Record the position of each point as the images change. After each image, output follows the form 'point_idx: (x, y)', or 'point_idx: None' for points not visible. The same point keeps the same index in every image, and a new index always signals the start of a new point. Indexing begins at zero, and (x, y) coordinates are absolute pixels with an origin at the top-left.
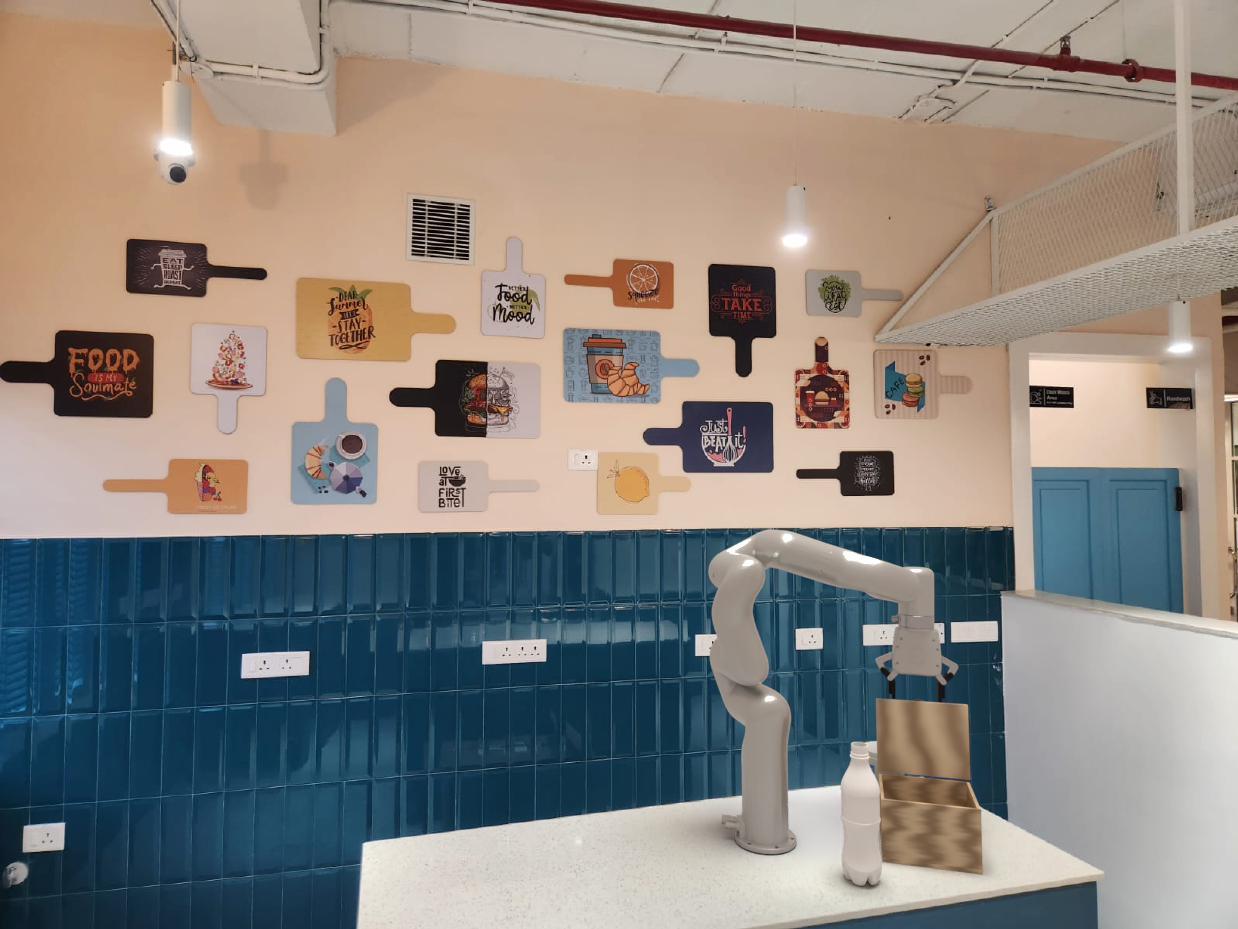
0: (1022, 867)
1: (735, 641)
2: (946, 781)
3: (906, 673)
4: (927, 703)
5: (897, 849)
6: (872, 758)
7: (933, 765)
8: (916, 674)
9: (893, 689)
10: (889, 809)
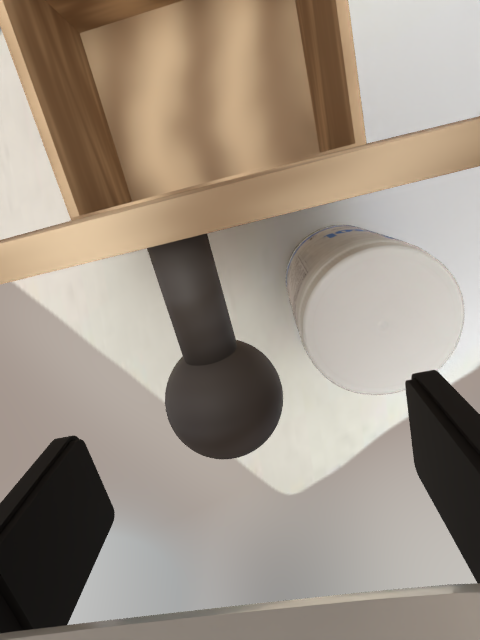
0: (13, 127)
1: None
2: (139, 200)
3: (381, 596)
4: (87, 221)
5: None
6: (405, 243)
7: (169, 195)
8: (181, 619)
9: (463, 413)
10: None
